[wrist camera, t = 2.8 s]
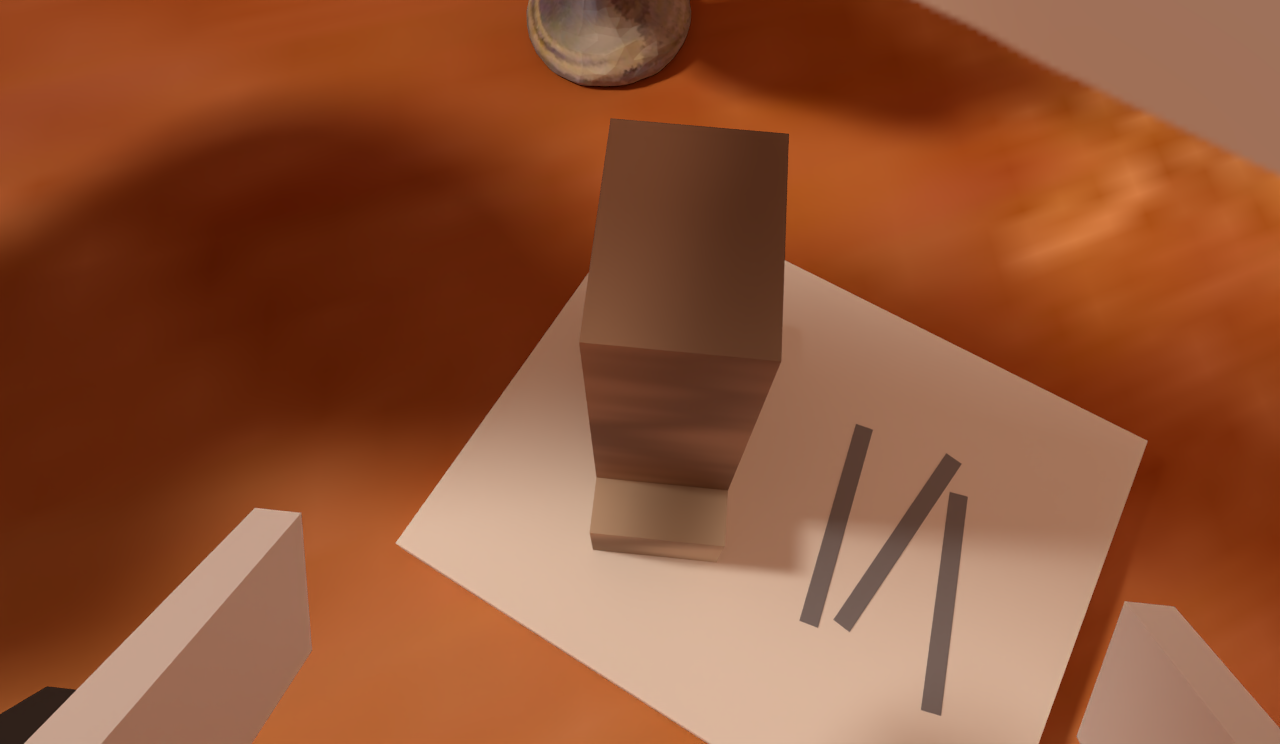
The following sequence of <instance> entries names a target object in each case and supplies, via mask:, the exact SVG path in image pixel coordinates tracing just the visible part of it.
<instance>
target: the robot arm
mask: <svg viewBox="0 0 1280 744" xmlns="http://www.w3.org/2000/svg"><path fill="white" fill-rule="evenodd" d="M311 651H312V644H311V631H310V618H309V605H308V592H307V579H306V567H305V554H304V541H303V528H302V515H301V513H298V512H289V511H279V510H270V509H261V508H254V509H253V510H252V511H251V512H250V513H249V514H248V515H247V516H246V517H245V518H244V519H243V521H242V522H241V523H240V524H239V525H238V526H237V527H236V528H235V529H234V530H233V531H232V532H231V533H230V534H229V535H228V536H227V537H226V538H225V539H224V540H223V541H222V542H221V543H220V544H219V545H218V546H217V547H216V548H215V549H214V550H213V551H212V552H211V553H210V554H209V555H208V556H207V557H206V558H205V559H204V560H203V561H202V562H201V563H200V564H199V565H198V566H197V567H196V568H195V570H194V571H193V572H192V573H191V574H190V575H189V576H188V577H187V578H186V579H185V580H184V581H183V582H182V583H181V584H180V585H179V586H178V587H177V588H176V589H175V590H174V591H173V592H172V593H171V594H170V595H169V596H168V597H167V598H166V599H165V600H164V601H163V602H162V603H161V604H160V605H159V606H158V607H157V608H156V609H155V610H154V611H153V612H152V613H151V614H150V615H149V616H148V618H147V619H146V620H145V621H144V622H143V623H142V624H141V625H140V626H139V627H138V628H137V629H136V630H135V631H134V632H133V633H132V634H131V635H130V636H129V637H128V638H127V639H126V640H125V641H124V642H123V643H122V644H121V645H120V646H119V647H118V648H117V649H116V650H115V651H114V652H113V653H112V654H111V655H110V656H109V657H108V658H107V659H106V660H105V661H104V662H103V663H102V664H101V666H100V667H99V668H98V669H97V670H96V671H95V672H94V673H93V674H92V675H91V676H90V677H89V678H88V679H87V680H86V681H85V682H84V683H83V684H82V685H81V686H80V687H79V688H78V689H77V690H73V689H65V688H56V687H45V688H44V689H42V690H40V691H39V692H37V693H35V694H34V695H32V696H30V697H28V698H27V699H25V700H23V701H22V702H20V703H18V704H17V705H15V706H13V707H12V708H10V709H8V710H7V711H5V712H3V713H2V714H0V744H252V742H253V741H254V739H255V738H256V736H257V734H258V733H259V731H260V730H261V728H262V727H263V725H264V724H265V722H266V721H267V719H268V718H269V716H270V714H271V713H272V711H273V710H274V708H275V707H276V705H277V704H278V702H279V701H280V699H281V697H282V696H283V694H284V693H285V691H286V690H287V688H288V687H289V685H290V684H291V682H292V681H293V679H294V677H295V676H296V674H297V673H298V671H299V670H300V668H301V667H302V665H303V664H304V662H305V660H306V659H307V657H308V656H309V654H310V653H311ZM1077 738H1078V740H1079V742H1080V744H1280V728H1279V727H1278V726H1277V725H1276V723H1275V722H1274V721H1273V720H1272V719H1271V718H1270V717H1269V715H1268V714H1267V713H1266V712H1265V711H1264V710H1263V708H1262V707H1261V706H1260V705H1259V704H1258V703H1257V701H1256V700H1255V699H1254V698H1253V697H1252V696H1251V695H1250V693H1249V692H1248V691H1247V690H1246V689H1245V688H1244V686H1243V685H1242V684H1241V683H1240V682H1239V681H1238V679H1237V678H1236V677H1235V676H1234V675H1233V674H1232V673H1231V671H1230V670H1229V669H1228V668H1227V667H1226V666H1225V664H1224V663H1223V662H1222V661H1221V660H1220V659H1219V658H1218V656H1217V655H1216V654H1215V653H1214V652H1213V651H1212V649H1211V648H1210V647H1209V646H1208V645H1207V644H1206V642H1205V641H1204V640H1203V639H1202V638H1201V637H1200V636H1199V634H1198V633H1197V632H1196V631H1195V630H1194V629H1193V627H1192V626H1191V625H1190V624H1189V623H1188V622H1187V620H1186V619H1185V618H1184V617H1183V616H1182V615H1181V614H1180V612H1179V611H1178V610H1177V609H1176V608H1175V607H1174V606H1164V605H1155V604H1146V603H1136V602H1127V601H1125V602H1124V605H1123V608H1122V610H1121V613H1120V616H1119V619H1118V622H1117V624H1116V627H1115V630H1114V633H1113V636H1112V639H1111V641H1110V644H1109V647H1108V650H1107V653H1106V655H1105V658H1104V661H1103V664H1102V667H1101V669H1100V672H1099V675H1098V678H1097V681H1096V683H1095V686H1094V689H1093V692H1092V695H1091V697H1090V700H1089V703H1088V706H1087V709H1086V711H1085V714H1084V717H1083V720H1082V723H1081V725H1080V728H1079V731H1078V734H1077Z"/></svg>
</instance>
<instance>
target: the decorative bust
mask: <svg viewBox="0 0 1280 744" xmlns="http://www.w3.org/2000/svg"><path fill="white" fill-rule="evenodd" d="M690 23H691V7H690V0H529V3H528V7H527V27H528V32H529V36H530V40H531V42H532V44H533V46H534V48H535V51H536V53H537V54H538V55H539V56H540V58H541V59H542V60H543V61H544V62H545V64H546V65H547V66H548V67H549V68H550V70H552V71H553V72H555V73H556V74H557V75H559V76H561V77H563V78H565V79H568V80H570V81H572V82H574V83H577V84H579V85H584V86H621V85H627V84H631V83H634V82H636V81H639V80H641V79H644V78H646V77H649V76H652V75H654V74H656V73H658V72H659V71H661V70H662V69H663V68H664V67H665V66H666V65H667V64H668V63H669V62H670V61H671V60H672V59H673V58H674V57H675V55H676V54H677V52H678V51H679V49H680V48H681V46H682V45H683V43H684V41H685V39H686V36H687V33H688V30H689V27H690Z"/></svg>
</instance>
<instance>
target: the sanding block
mask: <svg viewBox="0 0 1280 744" xmlns="http://www.w3.org/2000/svg"><path fill="white" fill-rule="evenodd" d="M788 144H789V134H785V133H773V132H762V131H750V130H739V129H727V128H715V127H704V126H692V125H681V124H669V123H658V122H646V121H635V120H623V119H612V118H611V120H610V127H609V134H608V142H607V149H606V156H605V163H604V170H603V177H602V184H601V191H600V198H599V205H598V212H597V219H596V226H595V233H594V240H593V247H592V254H591V261H590V268H589V275H588V282H587V289H586V296H585V303H584V310H583V317H582V325H581V332H580V339H579V346H580V354H581V362H582V369H583V377H584V385H585V393H586V401H587V408H588V416H589V424H590V432H591V439H592V447H593V455H594V463H595V470H596V485H595V493H594V501H593V509H592V517H591V525H590V538H591V543H592V548H593V550H600V551H610V552H619V553H629V554H639V555H649V556H659V557H669V558H679V559H688V560H698V561H708V562H717V560H718V558H719V557H720V555H721V553H722V551H723V549H724V547H725V534H726V516H727V499H728V489H729V487H730V484H731V482H732V480H733V477H734V475H735V472H736V470H737V467H738V465H739V463H740V460H741V458H742V455H743V453H744V450H745V448H746V446H747V443H748V441H749V438H750V436H751V434H752V431H753V429H754V426H755V424H756V421H757V419H758V417H759V414H760V412H761V409H762V407H763V405H764V402H765V400H766V397H767V395H768V392H769V390H770V388H771V385H772V383H773V380H774V378H775V376H776V373H777V371H778V368H779V366H780V363H781V357H782V327H783V296H784V266H785V235H786V205H787V175H788Z"/></svg>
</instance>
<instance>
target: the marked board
mask: <svg viewBox="0 0 1280 744" xmlns="http://www.w3.org/2000/svg"><path fill="white" fill-rule="evenodd" d="M588 275H589V273H588V274H587V276H586V277H585V278H584V280H583V281H582V283H581V284H580V285H579V287H578V288H577V290H576V291H575V292H574V294H573V295H572V297H571V298H570V299H569V301H568V302H567V304H566V305H565V306H564V308H563V309H562V311H561V312H560V313H559V315H558V316H557V318H556V319H555V320H554V322H553V323H552V325H551V326H550V327H549V329H548V330H547V332H546V333H545V334H544V336H543V337H542V339H541V340H540V341H539V343H538V344H537V346H536V347H535V348H534V350H533V351H532V353H531V354H530V355H529V357H528V358H527V360H526V361H525V362H524V364H523V365H522V367H521V368H520V369H519V371H518V372H517V374H516V375H515V376H514V378H513V379H512V381H511V382H510V383H509V385H508V386H507V388H506V389H505V390H504V392H503V393H502V395H501V396H500V397H499V399H498V400H497V402H496V403H495V404H494V406H493V407H492V409H491V410H490V411H489V413H488V414H487V416H486V417H485V418H484V420H483V421H482V423H481V424H480V425H479V427H478V428H477V430H476V431H475V433H474V434H473V435H472V437H471V438H470V440H469V441H468V442H467V444H466V445H465V447H464V448H463V449H462V451H461V452H460V454H459V455H458V456H457V458H456V459H455V461H454V462H453V463H452V465H451V466H450V468H449V469H448V470H447V472H446V473H445V475H444V476H443V477H442V479H441V480H440V482H439V483H438V484H437V486H436V487H435V489H434V490H433V491H432V493H431V494H430V496H429V497H428V498H427V500H426V501H425V503H424V504H423V505H422V507H421V508H420V510H419V511H418V512H417V514H416V515H415V517H414V518H413V519H412V521H411V522H410V524H409V525H408V526H407V528H406V529H405V531H404V532H403V533H402V535H401V536H400V538H399V539H398V540H397V542H396V544H397V545H399V546H400V547H401V548H402V549H404V550H405V551H406V552H408V553H410V554H411V555H413V556H414V557H416V558H417V559H419V560H421V561H422V562H424V563H425V564H427V565H428V566H430V567H432V568H433V569H435V570H436V571H438V572H439V573H441V574H443V575H444V576H446V577H447V578H449V579H450V580H452V581H453V582H455V583H457V584H458V585H460V586H461V587H463V588H464V589H466V590H468V591H469V592H471V593H472V594H474V595H475V596H477V597H479V598H480V599H482V600H483V601H485V602H486V603H488V604H490V605H491V606H493V607H494V608H496V609H497V610H499V611H501V612H502V613H504V614H505V615H507V616H508V617H510V618H512V619H513V620H515V621H516V622H518V623H519V624H521V625H522V626H524V627H526V628H527V629H529V630H530V631H532V632H533V633H535V634H537V635H538V636H540V637H541V638H543V639H544V640H546V641H548V642H549V643H551V644H552V645H554V646H555V647H557V648H559V649H560V650H562V651H563V652H565V653H566V654H568V655H570V656H571V657H573V658H574V659H576V660H577V661H579V662H581V663H582V664H584V665H585V666H587V667H588V668H590V669H592V670H593V671H595V672H596V673H598V674H599V675H601V676H602V677H604V678H606V679H607V680H609V681H610V682H612V683H613V684H615V685H617V686H618V687H620V688H621V689H623V690H624V691H626V692H628V693H629V694H631V695H632V696H634V697H635V698H637V699H639V700H640V701H642V702H643V703H645V704H646V705H648V706H650V707H651V708H653V709H654V710H656V711H657V712H659V713H661V714H662V715H664V716H665V717H667V718H668V719H670V720H671V721H673V722H675V723H676V724H678V725H679V726H681V727H682V728H684V729H686V730H687V731H689V732H690V733H692V734H693V735H695V736H697V737H698V738H700V739H701V740H703V741H704V742H706V743H708V744H1039V741H1040V738H1041V735H1042V733H1043V730H1044V727H1045V724H1046V722H1047V719H1048V716H1049V713H1050V710H1051V708H1052V705H1053V702H1054V699H1055V697H1056V694H1057V691H1058V688H1059V686H1060V683H1061V680H1062V677H1063V674H1064V672H1065V669H1066V666H1067V663H1068V661H1069V658H1070V655H1071V652H1072V650H1073V647H1074V644H1075V641H1076V638H1077V636H1078V633H1079V630H1080V627H1081V625H1082V622H1083V619H1084V616H1085V614H1086V611H1087V608H1088V605H1089V602H1090V600H1091V597H1092V594H1093V591H1094V589H1095V586H1096V583H1097V580H1098V578H1099V575H1100V572H1101V569H1102V566H1103V564H1104V561H1105V558H1106V555H1107V553H1108V550H1109V547H1110V544H1111V542H1112V539H1113V536H1114V533H1115V530H1116V528H1117V525H1118V522H1119V519H1120V517H1121V514H1122V511H1123V508H1124V506H1125V503H1126V500H1127V497H1128V494H1129V492H1130V489H1131V486H1132V483H1133V481H1134V478H1135V475H1136V472H1137V470H1138V467H1139V464H1140V461H1141V458H1142V456H1143V453H1144V450H1145V447H1146V445H1147V442H1148V441H1147V440H1145V439H1143V438H1141V437H1139V436H1137V435H1135V434H1133V433H1131V432H1129V431H1127V430H1125V429H1123V428H1121V427H1119V426H1117V425H1115V424H1113V423H1111V422H1109V421H1107V420H1105V419H1103V418H1101V417H1099V416H1097V415H1095V414H1093V413H1091V412H1089V411H1087V410H1085V409H1083V408H1081V407H1079V406H1077V405H1075V404H1073V403H1071V402H1069V401H1067V400H1065V399H1063V398H1061V397H1059V396H1057V395H1055V394H1053V393H1051V392H1049V391H1047V390H1044V389H1042V388H1040V387H1038V386H1036V385H1034V384H1032V383H1030V382H1028V381H1026V380H1024V379H1022V378H1020V377H1018V376H1016V375H1014V374H1012V373H1010V372H1008V371H1006V370H1004V369H1002V368H1000V367H998V366H996V365H994V364H992V363H990V362H988V361H986V360H984V359H982V358H980V357H978V356H976V355H974V354H972V353H970V352H968V351H966V350H964V349H962V348H960V347H958V346H956V345H954V344H952V343H950V342H948V341H946V340H944V339H942V338H940V337H938V336H936V335H934V334H932V333H930V332H928V331H926V330H924V329H922V328H920V327H918V326H916V325H914V324H912V323H910V322H908V321H906V320H904V319H902V318H900V317H898V316H896V315H894V314H892V313H890V312H888V311H886V310H884V309H882V308H880V307H878V306H876V305H874V304H872V303H870V302H868V301H866V300H864V299H862V298H860V297H858V296H856V295H854V294H852V293H850V292H848V291H846V290H844V289H842V288H840V287H838V286H836V285H834V284H832V283H830V282H828V281H826V280H824V279H822V278H820V277H818V276H816V275H814V274H812V273H809V272H807V271H805V270H803V269H801V268H799V267H797V266H795V265H793V264H791V263H789V262H787V261H785V266H784V296H783V327H782V357H781V363H780V366H779V368H778V371H777V373H776V376H775V378H774V380H773V383H772V385H771V388H770V390H769V392H768V395H767V397H766V400H765V402H764V405H763V407H762V409H761V412H760V414H759V417H758V419H757V421H756V424H755V426H754V429H753V431H752V434H751V436H750V438H749V441H748V443H747V446H746V448H745V450H744V453H743V455H742V458H741V460H740V463H739V465H738V467H737V470H736V472H735V475H734V477H733V480H732V482H731V484H730V487H729V489H728V499H727V516H726V534H725V547H724V549H723V551H722V553H721V555H720V557H719V558H718V560H717V562H708V561H698V560H688V559H679V558H669V557H659V556H649V555H639V554H629V553H619V552H610V551H600V550H593V548H592V543H591V538H590V525H591V517H592V509H593V501H594V493H595V485H596V470H595V463H594V455H593V447H592V439H591V432H590V424H589V416H588V408H587V401H586V393H585V385H584V377H583V369H582V362H581V354H580V346H579V339H580V332H581V325H582V317H583V310H584V303H585V296H586V289H587V282H588Z"/></svg>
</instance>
